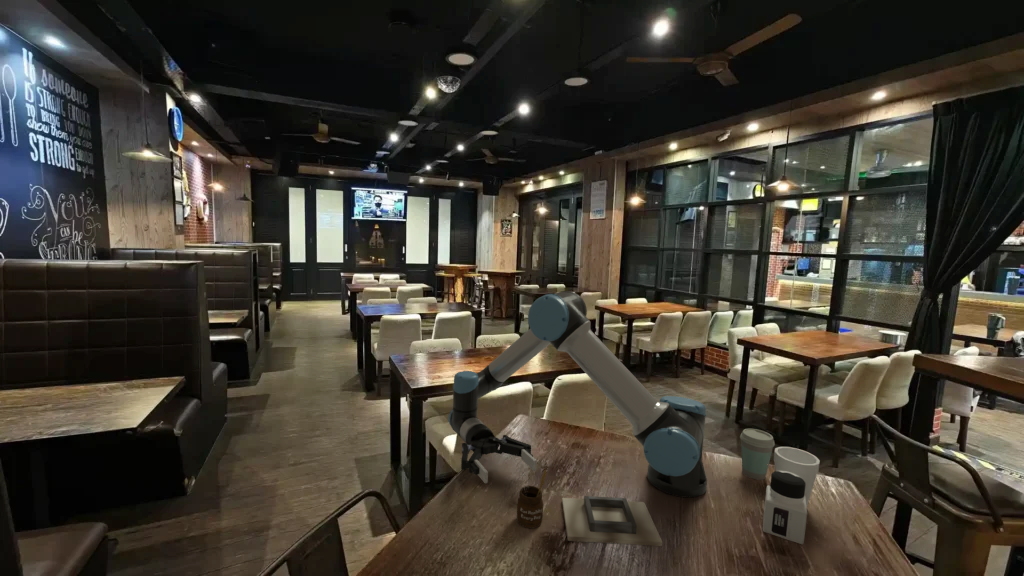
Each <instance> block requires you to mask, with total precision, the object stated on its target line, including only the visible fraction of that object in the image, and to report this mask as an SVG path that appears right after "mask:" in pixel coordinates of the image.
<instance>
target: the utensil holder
mask: <svg viewBox="0 0 1024 576" xmlns="http://www.w3.org/2000/svg"><path fill="white" fill-rule="evenodd" d="M523 476H524V477H523ZM546 476H547V471H546V468H545V469H544V470H543V474H542V476H541V478H540V485H539V487H537V486H533V485H529V482H530V481H529V480H528V479H529V477H528V476H527V475H526V474H521V475H519V476H518V479H517V480H518V483H517V484H518V485H519V487H518V488H519V492H518V496H519V497H518V499H517V503H516V504H517V506H516V520H517V522H518V524H519V525H520V526H522V527H523V528H527V529H536V528H537V527H539V526H540V525H541V524H542V523H543V517H544V501H543V492H542V486H543V485H544V483H545V481H546V480H545V479H546ZM520 478H522V479H524V478H525V480H526V481H527V482H526V486H525V484H524V483H525V482H524V480H522V484H523V486H521V484H520V483H521V480H520Z"/></svg>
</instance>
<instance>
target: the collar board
mask: <svg viewBox="0 0 1024 576" xmlns="http://www.w3.org/2000/svg"><path fill="white" fill-rule="evenodd" d="M561 503H562V509H563V516H564V524H565V532H566V537H567V538H566V539H567V541H569V542H582V543H583V542H585V543H598V542H599V543H600V544H601V543H602V544H616V543H617V544H619V545H632V546H633V545H636V546H637V545H638V546H650V547H651V546H652V547H653V546H655V547H656V546H657V547H662V546H663V540H662V538H661V535H660V534H659V531H658V529H657V527H656V524H655V523H654V521H653V519H652V516H651V514H650V512H649V510H648V508H647V505H646V504H645V502H644V501H630V500H627V498H626V497H613V496H612V497H610V496H609V497H608V496H594V495H593V496H592V495H584V497H583V498H574V497H562V498H561Z"/></svg>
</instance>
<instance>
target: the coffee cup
mask: <svg viewBox="0 0 1024 576" xmlns="http://www.w3.org/2000/svg"><path fill="white" fill-rule="evenodd" d="M739 438H740V442H741V443H740V444H741V445H740V447H741V448H740V449H741V472H742V474H743V475H745V476H746V477H747V478H750V479H752V480H756V481H762V480H765V479H766V476H767V473H768V468H769V465H770V461H771V458H772V453H773V449H774V447H775V445H776V444H775V440H774V437H773V435H772V434H770V433H769V432H766V431H764V430H761V429H757V428H745V429H742V432H741V434H740V436H739ZM767 464H768V465H767Z"/></svg>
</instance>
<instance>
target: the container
mask: <svg viewBox="0 0 1024 576" xmlns="http://www.w3.org/2000/svg"><path fill="white" fill-rule="evenodd" d="M770 474H771V475H770V483H769V485H767V486H766V489H765V490H766V491H765V498H764V509H763V518H762V519H763V522H762V531H763V532H764V533H765V534H769V535H773V536H776V537H778V538H782V539H785V540H787V541H790V542H793V543H796V544H799V545H804V544H805V536H806V535H805V534H806V528H807V519H808V505H807V506H806V497H805V496H804V494H805V486H806V483H805V481H804V480H803V479H802V478H801V477H799V476H798V475H796V474H794V473H791V472H787V471H775V470H774V471H773V472H772V473H770Z"/></svg>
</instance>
